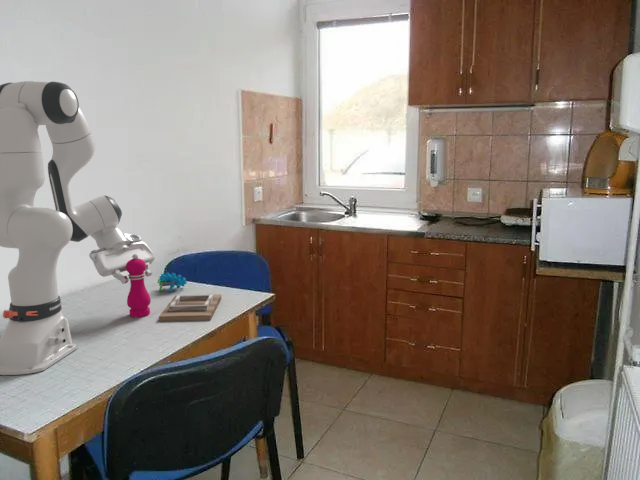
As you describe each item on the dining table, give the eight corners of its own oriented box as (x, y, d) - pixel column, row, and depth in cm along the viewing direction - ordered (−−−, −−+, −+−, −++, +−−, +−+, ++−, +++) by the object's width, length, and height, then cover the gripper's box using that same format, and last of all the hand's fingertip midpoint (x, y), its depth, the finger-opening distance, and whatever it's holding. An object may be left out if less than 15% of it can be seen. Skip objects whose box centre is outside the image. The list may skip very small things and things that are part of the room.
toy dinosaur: (191, 283, 200) (179, 269, 192) (188, 297, 196) (175, 283, 189) (166, 285, 203) (152, 272, 195) (162, 299, 199) (148, 286, 192)
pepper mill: (142, 319, 166) (137, 257, 162) (123, 316, 168) (117, 255, 164) (156, 311, 172) (151, 252, 169) (137, 309, 175) (132, 251, 171)
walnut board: (210, 319, 164) (210, 310, 164) (159, 321, 164) (158, 311, 163) (221, 298, 186) (221, 290, 185) (175, 299, 185) (175, 291, 185)
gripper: (90, 245, 160) (114, 280, 157) (143, 234, 178) (166, 265, 175) (82, 258, 164) (106, 292, 161) (135, 246, 181) (158, 277, 178)
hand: (138, 278), depth 168 cm, fingers open, 8 cm apart
